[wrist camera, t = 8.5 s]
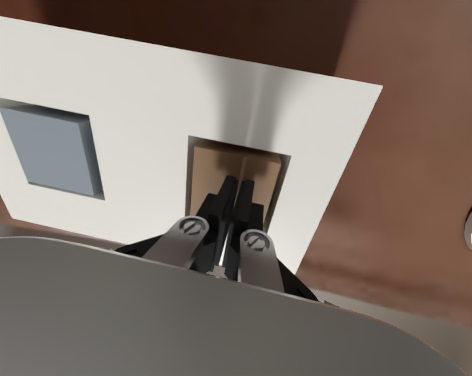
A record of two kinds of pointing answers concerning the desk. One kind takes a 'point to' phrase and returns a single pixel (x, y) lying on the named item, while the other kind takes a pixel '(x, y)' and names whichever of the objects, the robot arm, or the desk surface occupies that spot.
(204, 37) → the desk surface
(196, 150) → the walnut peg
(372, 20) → the desk surface
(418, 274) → the desk surface
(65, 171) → the slate peg
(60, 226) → the peg board
